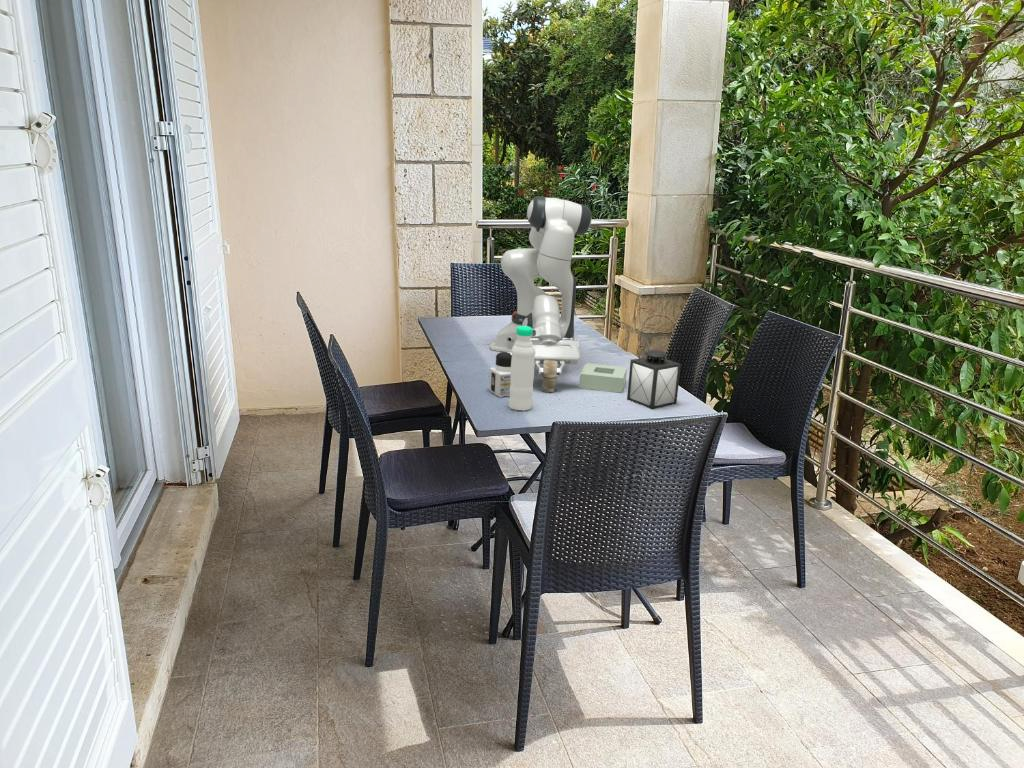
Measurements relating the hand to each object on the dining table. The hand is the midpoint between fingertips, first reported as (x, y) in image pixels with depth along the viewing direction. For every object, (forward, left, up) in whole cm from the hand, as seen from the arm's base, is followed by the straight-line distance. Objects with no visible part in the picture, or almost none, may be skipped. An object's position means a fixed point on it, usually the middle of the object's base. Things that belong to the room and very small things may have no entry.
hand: (550, 374), depth 257 cm
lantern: (+33, +2, -6) cm, 33 cm away
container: (-13, -6, -6) cm, 16 cm away
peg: (0, +1, -6) cm, 6 cm away
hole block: (+16, +15, -6) cm, 22 cm away
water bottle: (-5, -19, -6) cm, 21 cm away
